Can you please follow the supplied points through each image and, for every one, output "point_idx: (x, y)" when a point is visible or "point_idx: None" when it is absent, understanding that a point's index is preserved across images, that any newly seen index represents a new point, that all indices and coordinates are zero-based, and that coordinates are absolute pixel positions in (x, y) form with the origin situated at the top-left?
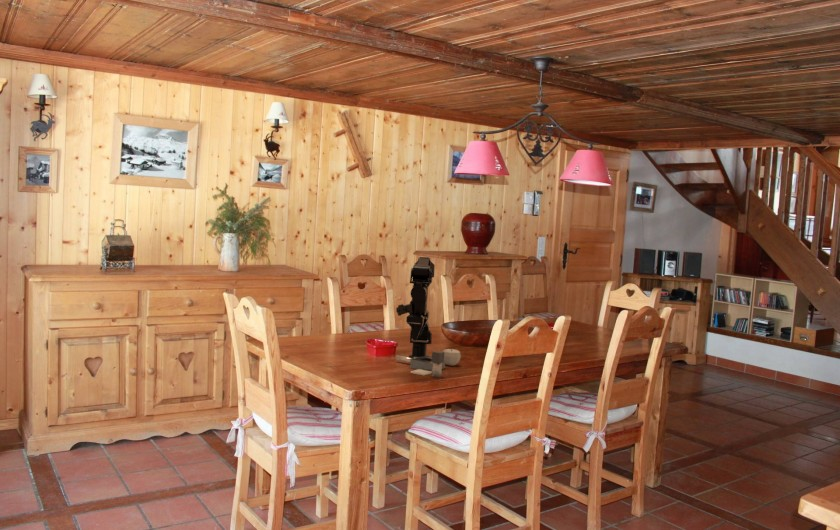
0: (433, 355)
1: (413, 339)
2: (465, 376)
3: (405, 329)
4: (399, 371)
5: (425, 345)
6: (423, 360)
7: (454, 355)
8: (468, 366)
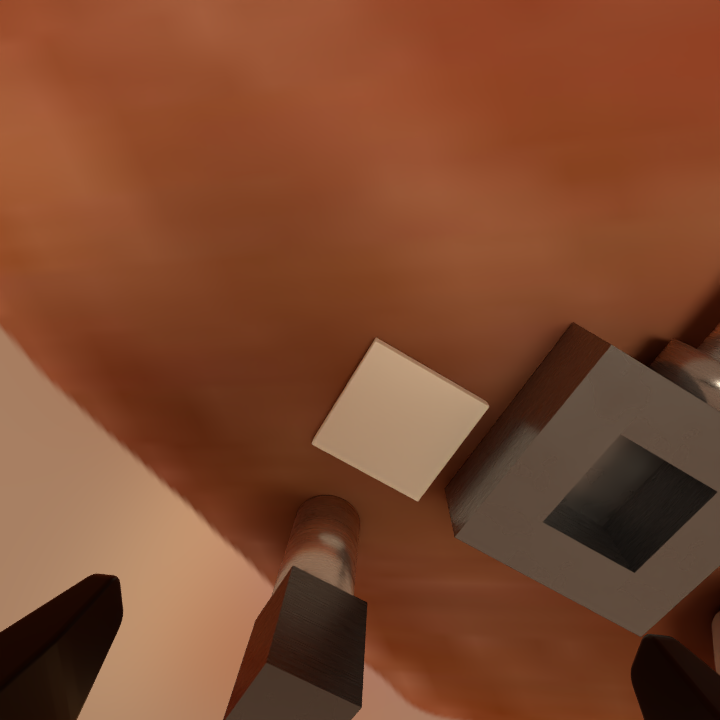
0: (268, 637)
1: (83, 585)
2: (398, 678)
3: None
4: (400, 236)
5: None
6: (574, 468)
7: None
8: None
